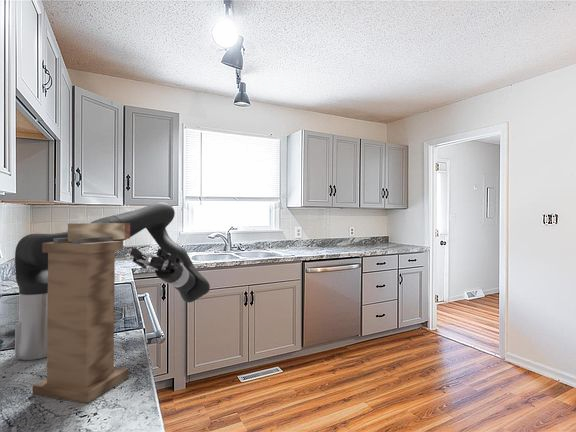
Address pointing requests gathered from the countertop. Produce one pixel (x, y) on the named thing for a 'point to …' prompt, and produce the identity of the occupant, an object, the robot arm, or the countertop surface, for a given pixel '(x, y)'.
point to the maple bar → (98, 230)
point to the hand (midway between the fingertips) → (145, 251)
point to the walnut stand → (80, 320)
